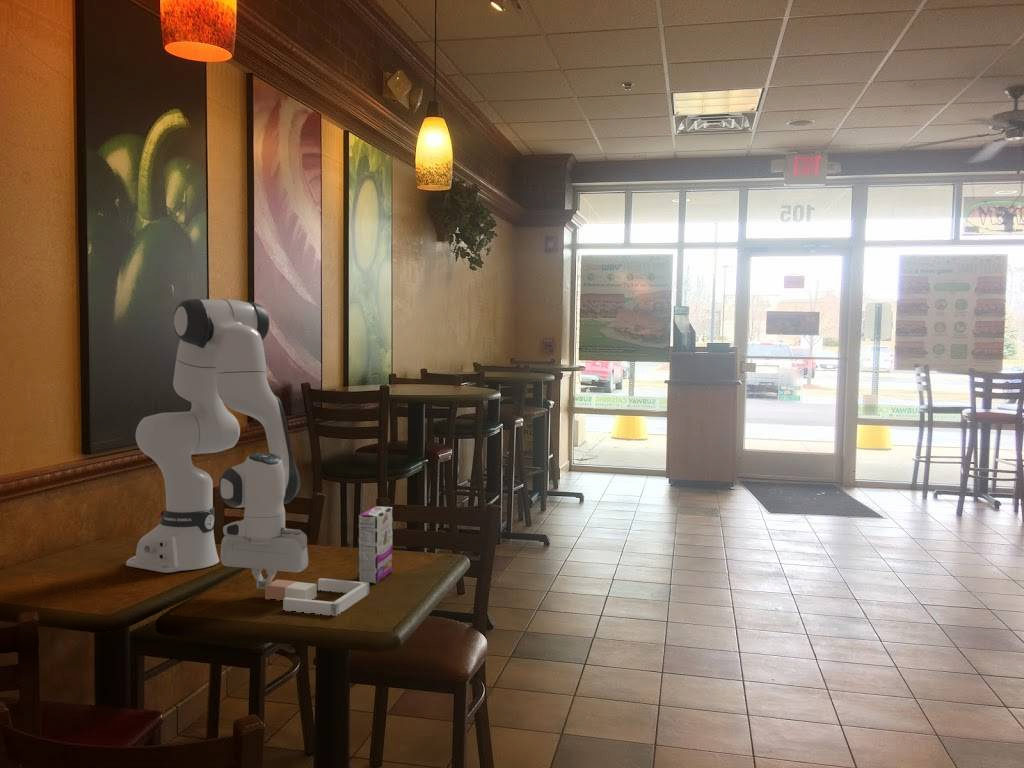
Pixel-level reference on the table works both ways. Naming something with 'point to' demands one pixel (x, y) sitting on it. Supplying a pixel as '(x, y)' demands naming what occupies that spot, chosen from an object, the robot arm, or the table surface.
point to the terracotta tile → (277, 589)
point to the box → (324, 607)
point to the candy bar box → (375, 544)
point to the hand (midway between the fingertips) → (264, 588)
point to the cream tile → (301, 590)
